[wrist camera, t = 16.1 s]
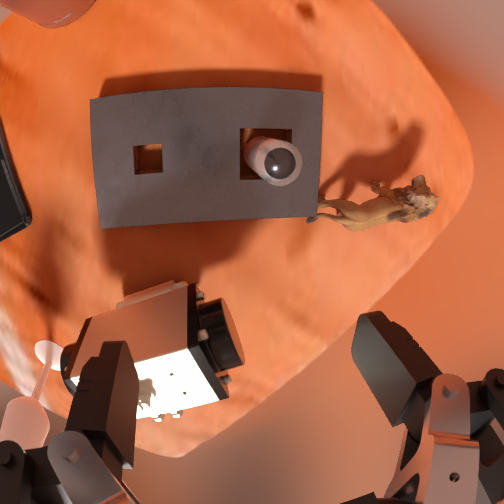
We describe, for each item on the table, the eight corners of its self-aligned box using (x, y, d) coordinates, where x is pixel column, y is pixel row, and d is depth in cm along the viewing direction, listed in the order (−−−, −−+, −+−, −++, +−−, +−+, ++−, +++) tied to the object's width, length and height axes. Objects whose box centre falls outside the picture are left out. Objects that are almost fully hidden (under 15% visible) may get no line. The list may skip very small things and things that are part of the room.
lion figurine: (396, 161, 36) (441, 176, 28) (403, 197, 38) (446, 219, 30) (298, 202, 36) (328, 228, 28) (311, 239, 38) (341, 273, 30)
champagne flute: (76, 370, 41) (44, 500, 19) (45, 370, 40) (6, 489, 18) (60, 339, 38) (11, 475, 16) (28, 340, 37) (-26, 462, 16)
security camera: (116, 340, 40) (94, 445, 24) (86, 293, 36) (41, 395, 20) (234, 304, 40) (260, 413, 24) (212, 248, 36) (229, 351, 21)
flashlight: (243, 135, 32) (257, 140, 24) (279, 136, 32) (303, 141, 25) (243, 171, 33) (257, 186, 26) (278, 171, 34) (301, 185, 27)
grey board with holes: (97, 100, 27) (89, 99, 25) (314, 93, 31) (322, 92, 29) (106, 221, 33) (100, 228, 30) (308, 210, 37) (316, 216, 34)
